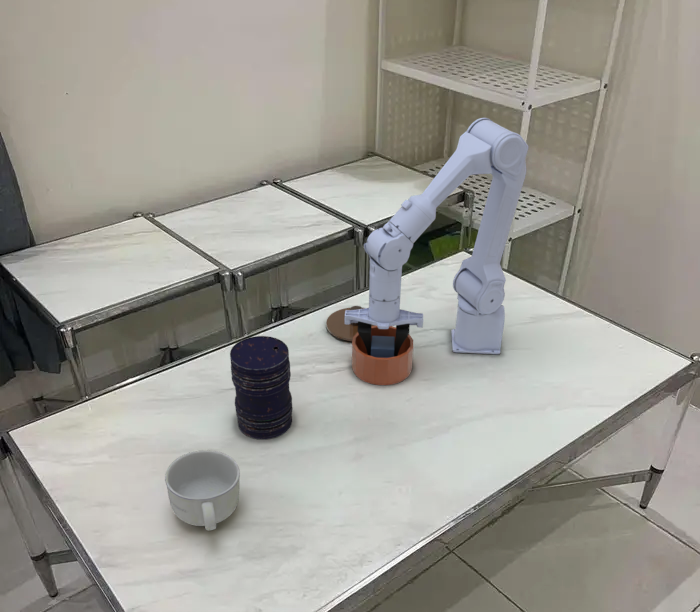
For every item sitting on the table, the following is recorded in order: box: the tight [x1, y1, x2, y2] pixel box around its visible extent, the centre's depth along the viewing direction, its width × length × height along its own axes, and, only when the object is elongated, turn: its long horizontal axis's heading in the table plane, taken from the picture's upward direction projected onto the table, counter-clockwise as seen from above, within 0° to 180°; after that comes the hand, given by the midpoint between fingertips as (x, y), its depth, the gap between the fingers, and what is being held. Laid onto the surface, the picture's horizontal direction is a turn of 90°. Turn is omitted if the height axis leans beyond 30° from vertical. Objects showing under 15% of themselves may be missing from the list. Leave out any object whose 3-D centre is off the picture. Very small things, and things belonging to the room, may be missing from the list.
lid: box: [325, 305, 376, 342], centre depth 151 cm, size 13×13×4 cm
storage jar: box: [229, 335, 293, 441], centre depth 123 cm, size 10×10×15 cm
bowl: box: [351, 326, 414, 386], centre depth 139 cm, size 12×12×6 cm
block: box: [371, 336, 395, 358], centre depth 139 cm, size 4×4×4 cm
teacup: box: [164, 449, 241, 531], centre depth 107 cm, size 14×11×8 cm
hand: (382, 355), depth 139 cm, fingers closed on block, 4 cm apart
